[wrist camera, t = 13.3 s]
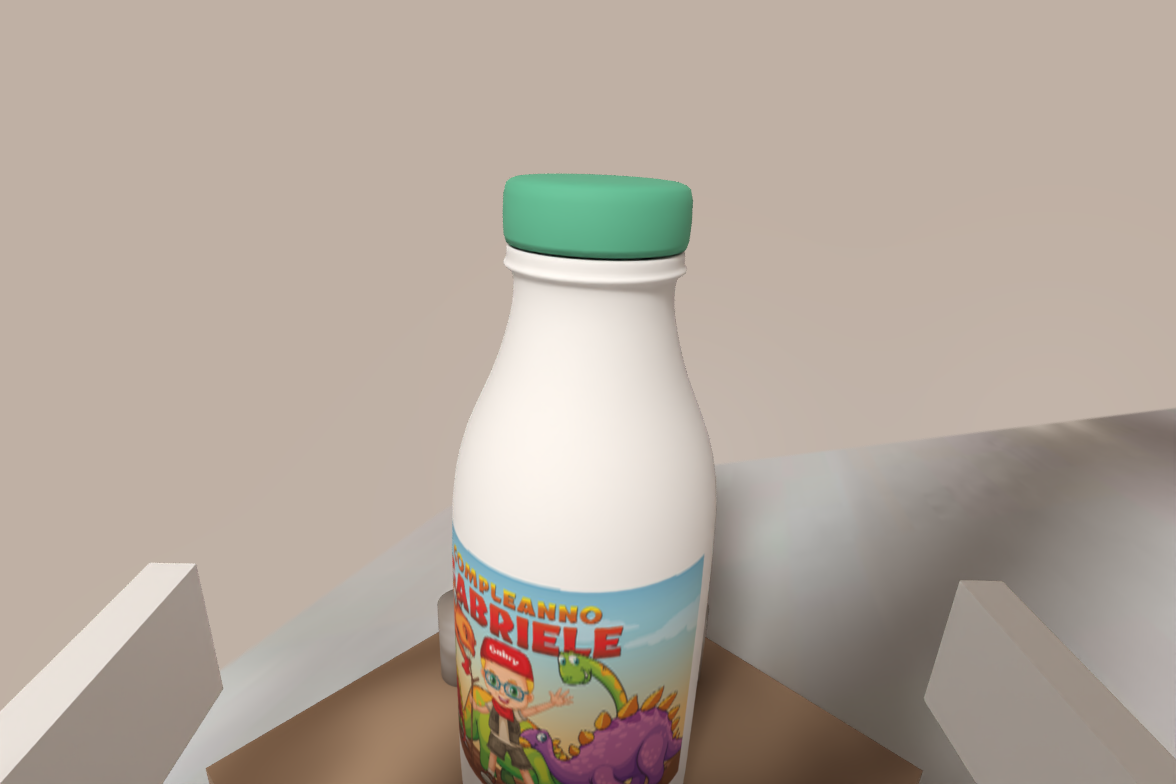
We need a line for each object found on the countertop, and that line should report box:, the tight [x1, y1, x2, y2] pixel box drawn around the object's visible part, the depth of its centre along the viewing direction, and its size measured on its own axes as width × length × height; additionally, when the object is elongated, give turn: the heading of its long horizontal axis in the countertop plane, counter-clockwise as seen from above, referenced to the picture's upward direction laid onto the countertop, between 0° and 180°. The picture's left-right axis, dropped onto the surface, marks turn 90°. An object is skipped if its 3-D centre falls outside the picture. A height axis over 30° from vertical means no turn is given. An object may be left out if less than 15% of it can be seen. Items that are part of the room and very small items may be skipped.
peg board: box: [206, 589, 922, 784], centre depth 22 cm, size 18×18×5 cm
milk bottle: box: [452, 174, 716, 784], centre depth 19 cm, size 8×8×20 cm
